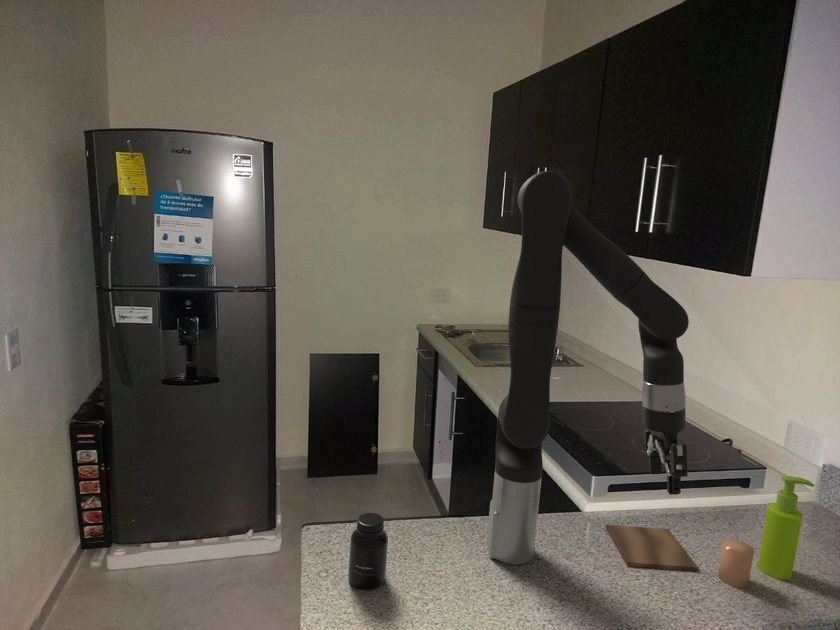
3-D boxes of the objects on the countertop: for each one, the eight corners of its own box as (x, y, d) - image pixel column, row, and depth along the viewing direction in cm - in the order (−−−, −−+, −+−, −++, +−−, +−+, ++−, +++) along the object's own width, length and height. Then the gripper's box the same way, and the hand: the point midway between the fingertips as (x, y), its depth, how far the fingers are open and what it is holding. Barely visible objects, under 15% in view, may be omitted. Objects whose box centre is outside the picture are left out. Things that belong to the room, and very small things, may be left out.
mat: (627, 565, 109) (627, 562, 109) (605, 527, 123) (605, 524, 123) (697, 570, 109) (697, 567, 109) (667, 532, 123) (668, 529, 123)
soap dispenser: (802, 582, 107) (821, 487, 104) (764, 576, 109) (781, 482, 106) (789, 565, 113) (806, 474, 110) (752, 559, 114) (768, 469, 111)
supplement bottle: (356, 595, 96) (359, 532, 94) (342, 573, 102) (345, 513, 100) (391, 585, 99) (395, 524, 97) (377, 564, 105) (380, 506, 103)
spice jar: (726, 587, 105) (732, 553, 103) (713, 570, 110) (718, 538, 109) (754, 589, 105) (759, 555, 103) (739, 572, 110) (744, 540, 109)
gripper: (630, 393, 111) (631, 468, 114) (659, 417, 97) (660, 502, 100) (667, 391, 111) (668, 466, 114) (701, 414, 97) (701, 499, 100)
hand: (664, 483), depth 107 cm, fingers open, 8 cm apart
